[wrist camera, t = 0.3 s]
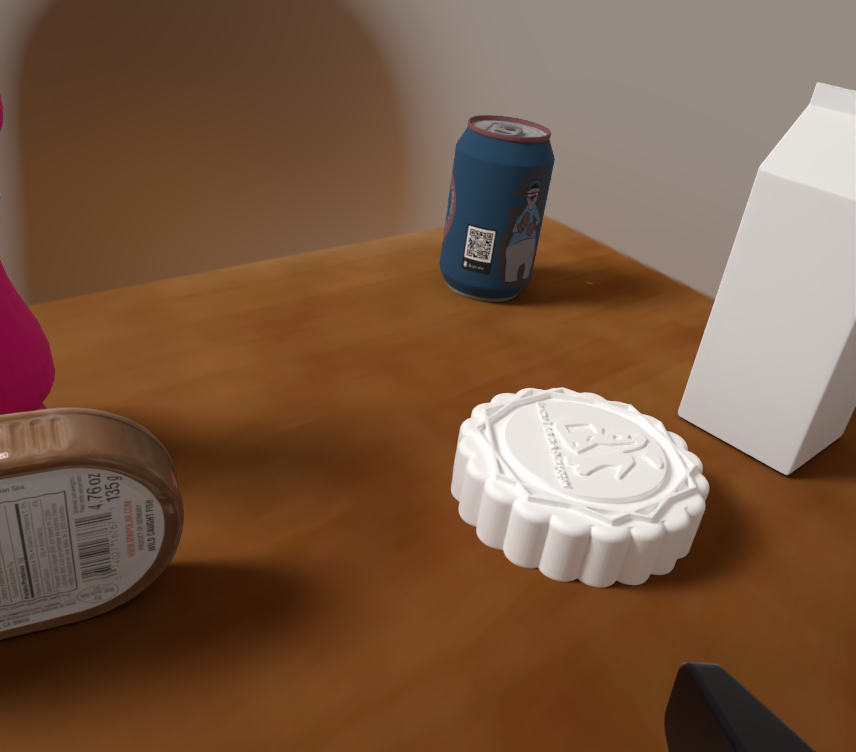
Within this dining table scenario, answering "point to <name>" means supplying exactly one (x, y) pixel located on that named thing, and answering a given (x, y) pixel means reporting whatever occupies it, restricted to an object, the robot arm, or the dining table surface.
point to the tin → (80, 515)
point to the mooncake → (578, 486)
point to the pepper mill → (21, 351)
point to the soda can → (496, 207)
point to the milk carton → (787, 300)
